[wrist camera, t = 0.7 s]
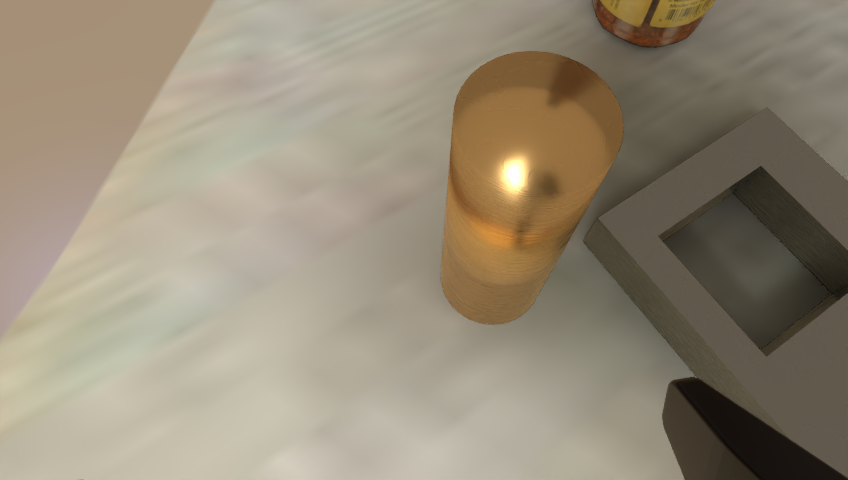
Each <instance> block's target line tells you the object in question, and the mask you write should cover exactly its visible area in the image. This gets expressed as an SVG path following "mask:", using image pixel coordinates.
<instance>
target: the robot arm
mask: <svg viewBox="0 0 848 480" xmlns="http://www.w3.org/2000/svg"><path fill="white" fill-rule="evenodd" d="M662 420H663V425H664V429H665V432H666V434H667V437H668V439H669V441H670V444H671V446H672V449H673V451H674V454H675V456H676V459H677V461H678V464H679V466H680V469H681V471H682V474H683V476H684V479H685V480H848V478H847V477H846V476H844V475H843V474H841V473H840V472H838V471H837V470H835V469H834V468H832V467H831V466H829V465H828V464H826V463H825V462H823V461H822V460H820V459H819V458H817V457H816V456H814V455H813V454H812V453H810V452H809V451H807V450H806V449H804V448H803V447H801V446H800V445H798V444H797V443H795V442H794V441H792V440H791V439H789V438H788V437H786V436H785V435H783V434H782V433H780V432H779V431H777V430H776V429H774V428H773V427H771V426H770V425H768V424H767V423H765V422H764V421H762V420H761V419H759V418H758V417H756V416H755V415H753V414H752V413H750V412H749V411H747V410H746V409H744V408H743V407H741V406H740V405H738V404H737V403H735V402H734V401H732V400H731V399H729V398H728V397H726V396H725V395H723V394H722V393H720V392H719V391H717V390H716V389H714V388H713V387H711V386H710V385H708V384H707V383H705V382H704V381H702V380H701V379H698V378H695V377H690V378H684V379H678V380H673V381H671V382H670V384H669V385H668V389H667V394H666V399H665V404H664V409H663V414H662Z"/></svg>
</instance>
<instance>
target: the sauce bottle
mask: <svg viewBox="0 0 848 480" xmlns="http://www.w3.org/2000/svg"><path fill="white" fill-rule="evenodd" d="M592 1H593V3H594V5H593V6H594V9H595V13H596V17H597V18H598V20H599V22H600V23H601V25H602V26H603V28H604V29H606V30H608V31H609V32H611V33H612V34H614V35H615V36H617V37H619V38H622V39H624V40H626V41H628V42H630V43H633V44H635V45H639V46H647V47H658V46H664V45H667V44H673V43H677V42H679V41H680V40H683V39H685V38H686V37H688V36H689V35H690V34H691V33H692V32H693V31H694V29H695V28H696V27H697V26H698V24H699V23H700V21H701V20H702V18H703V16H704V14H705V13H706V12H707V11H708V10H709V9H710V7H711V6H712V5H713V3H714V1H715V0H592Z"/></svg>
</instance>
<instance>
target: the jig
mask: <svg viewBox="0 0 848 480" xmlns="http://www.w3.org/2000/svg"><path fill="white" fill-rule="evenodd" d="M732 193H734V194H735V195H736V196H737V197H738V198H739V199H740V200H741V201H742V202H743V203H744V204H745V205H746V206H747V207H748V208H749V209H750V210H751V211H752V212H753V213H754V214H755V215H756V216H757V217H758V218H759V219H760V220H761V221H762V222H763V223H764V224H765V225H766V226H767V227H768V228H769V229H770V230H771V231H772V233H773V234H774V235H775V236H776V237H777V238H778V239H779V240H780V241H781V242H782V243H783V244H784V245H785V246H786V247H787V248H788V249H789V250H790V251H791V252H792V253H793V254H794V255H795V256H796V257H797V258H798V259H799V260H800V261H801V262H802V263H803V264H804V265H805V266H806V267H807V268H808V269H809V270H810V271H811V272H812V273H813V274H814V275H815V276H816V277H817V278H818V279H819V280H820V281H821V282H822V283H823V284H824V285H825V286H826V287H827V288H828V289H829V290H830V291H831V292H832V293H833V294H832V295H830V296H829V297H828V298H827V299H825V300H824V301H823V302H821V303H820V304H819V305H818V306H816V307H815V308H814V309H812V310H811V311H810V312H809V313H807V314H806V315H805V316H803V317H802V318H801V319H800V320H798V321H797V322H796V323H794V324H793V325H792V326H791V327H789V328H788V329H787V330H785V331H784V332H783V333H782V334H780V335H779V336H778V337H776V338H775V339H774V340H773V341H771V342H770V343H769V344H767V345H766V346H765V347H764V348H762V349H761V350H760V349H759V348H758V347H757V346H756V345H755V344H754V343H753V342H752V340H751V339H750V338H749V337H748V336H747V335H746V334H745V333H744V332H743V330H742V329H741V328H740V327H739V326H738V325H737V324H736V323H735V322H734V320H733V319H732V318H731V317H730V316H729V315H728V314H727V313H726V312H725V310H724V309H723V308H722V307H721V306H720V305H719V304H718V303H717V301H716V300H715V299H714V298H713V297H712V296H711V295H710V294H709V293H708V291H707V290H706V289H705V288H704V287H703V286H702V285H701V284H700V283H699V281H698V280H697V279H696V278H695V277H694V276H693V275H692V274H691V273H690V271H689V270H688V269H687V268H686V267H685V266H684V265H683V264H682V263H681V261H680V260H679V259H678V258H677V257H676V256H675V255H674V254H673V253H672V251H671V250H670V249H669V248H668V247H667V246H666V245H665V244H664V243H663V241H664V240H665V239H667V238H668V237H670V236H671V235H673V234H674V233H676V232H677V231H678V230H680V229H681V228H683V227H684V226H686V225H687V224H689V223H690V222H692V221H693V220H694V219H696V218H697V217H699V216H700V215H702V214H703V213H705V212H706V211H708V210H709V209H710V208H712V207H713V206H715V205H716V204H718V203H719V202H721V201H722V200H724V199H725V198H726V197H728V196H729V195H731V194H732ZM583 242H584V243H585V244H586V245H587V247H588V248H589V249H590V250H591V251H592V253H593V254H594V255H595V256H596V257H597V258H598V260H599V261H600V262H601V263H602V264H603V266H604V267H605V268H606V269H607V270H608V272H609V273H610V274H611V275H612V276H613V277H614V279H615V280H616V281H617V282H618V283H619V285H620V286H621V287H622V288H623V289H624V291H625V292H626V293H627V294H628V295H629V296H630V298H631V299H632V300H633V301H634V302H635V304H636V305H637V306H638V307H639V308H640V310H641V311H642V312H643V313H644V314H645V315H646V317H647V318H648V319H649V320H650V321H651V323H652V324H653V325H654V326H655V327H656V329H657V330H658V331H659V332H660V333H661V334H662V336H663V337H664V338H665V339H666V340H667V342H668V343H669V344H670V345H671V346H672V348H673V349H674V350H675V351H676V352H677V354H678V355H679V356H680V357H681V358H682V359H683V361H684V362H685V363H686V364H687V365H688V367H689V368H690V369H691V370H692V371H693V373H694V374H695V375H696V376H697V377H698V378H699V379H701V380H702V381H704V382H705V383H707V384H708V385H710V386H711V387H713V388H714V389H716V390H717V391H719V392H720V393H722V394H723V395H725V396H726V397H728V398H729V399H731V400H732V401H734V402H735V403H737V404H738V405H740V406H741V407H743V408H744V409H746V410H747V411H749V412H750V413H752V414H753V415H755V416H756V417H758V418H759V419H761V420H762V421H764V422H765V423H767V424H768V425H770V426H771V427H773V428H774V429H776V430H777V431H779V432H780V433H782V434H783V435H785V436H786V437H788V438H789V439H791V440H792V441H794V442H795V443H797V444H798V445H800V446H801V447H803V448H804V449H806V450H807V451H809V452H810V453H812V454H813V455H814V456H816V457H817V458H819V459H820V460H822V461H823V462H825V463H826V464H828V465H829V466H831V467H832V468H834V469H835V470H837V471H838V472H840V473H841V474H843V475H844V476H846V477H847V478H848V182H847V181H846V180H845V179H844V178H843V177H842V176H841V175H840V174H839V173H838V172H837V171H835V170H834V169H833V168H832V167H831V166H830V165H829V164H828V163H827V162H826V161H825V160H824V159H822V158H821V157H820V156H819V155H818V154H817V153H816V152H815V151H814V150H813V149H812V148H811V147H810V146H808V145H807V144H806V143H805V142H804V141H803V140H802V139H801V138H800V137H799V136H798V135H797V134H795V133H794V132H793V131H792V130H791V129H790V128H789V127H788V126H787V125H786V124H785V123H784V122H783V121H781V120H780V119H779V118H778V117H777V116H776V115H775V114H774V113H773V112H772V111H771V110H770V109H769V108H765V109H764V110H762V111H761V112H759V113H758V114H756V115H754V116H753V117H751V118H750V119H748V120H747V121H745V122H744V123H742V124H741V125H739V126H738V127H736V128H735V129H733V130H732V131H730V132H728V133H727V134H725V135H724V136H722V137H721V138H719V139H718V140H716V141H715V142H713V143H712V144H710V145H709V146H707V147H706V148H704V149H702V150H701V151H699V152H698V153H696V154H695V155H693V156H692V157H690V158H689V159H687V160H686V161H684V162H683V163H681V164H680V165H678V166H677V167H675V168H673V169H672V170H670V171H669V172H667V173H666V174H664V175H663V176H661V177H660V178H658V179H657V180H655V181H654V182H652V183H651V184H649V185H647V186H646V187H644V188H643V189H641V190H640V191H638V192H637V193H635V194H634V195H632V196H631V197H629V198H628V199H626V200H625V201H623V202H621V203H620V204H618V205H617V206H615V207H614V208H612V209H611V210H609V211H608V212H606V213H605V214H603V215H602V216H600V217H599V218H598V219H597V220H596V222H595V223H594V225H593V227H592V228H591V230H590V231H589V233H588V235H587V236H586V238H585V239H584V241H583Z"/></svg>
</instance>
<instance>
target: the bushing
mask: <svg viewBox="0 0 848 480" xmlns="http://www.w3.org/2000/svg"><path fill="white" fill-rule="evenodd" d="M623 133H624V123H623V117H622V112H621V109H620V106H619V103H618V101H617V99H616V97H615V95H614V94H613V92H612V91H611V89H610V88H609V87H608V85H607V84H606V83H605V82H604V81H603V80H602V79H601V78H600V77H599V76H598V75H597V74H596V73H594V72H593V71H592V70H590V69H589V68H587V67H586V66H584V65H582V64H580V63H579V62H577V61H574V60H572V59H570V58H567V57H564V56H561V55H557V54H553V53H548V52H538V51H526V52H516V53H512V54H507V55H504V56H501V57H498V58H496V59H493V60H491V61H489V62H487V63H486V64H484V65H483V66H481V67H480V68H478V69H477V70H476V71H475V72H474V73H472V74H471V76H470V77H469V78H468V79H467V80H466V81H465V83H464V84H463V86H462V87H461V89H460V91H459V93H458V95H457V99H456V102H455V106H454V113H453V126H452V138H451V151H450V164H449V176H448V189H447V201H446V214H445V227H444V239H443V252H442V265H441V283H442V288H443V291H444V293H445V296H446V298H447V299H448V301H449V303H450V304H451V305H452V306H453V307H454V308H455V309H456V310H457V311H458V312H459V313H460V314H462V315H463V316H465V317H466V318H468V319H470V320H473V321H475V322H478V323H482V324H503V323H507V322H510V321H512V320H515V319H516V318H518V317H520V316H521V315H523V314H524V313H525V312H526V311H527V310H528V309H529V308H530V307H531V305H532V304H533V303H534V301H535V299H536V297H537V296H538V294H539V292H540V290H541V289H542V287H543V285H544V283H545V282H546V280H547V278H548V276H549V274H550V273H551V271H552V269H553V267H554V266H555V264H556V262H557V260H558V259H559V257H560V255H561V253H562V251H563V250H564V248H565V246H566V244H567V243H568V241H569V239H570V237H571V236H572V234H573V232H574V230H575V228H576V227H577V225H578V223H579V221H580V220H581V218H582V216H583V214H584V213H585V211H586V209H587V207H588V206H589V204H590V202H591V200H592V198H593V197H594V195H595V193H596V191H597V190H598V188H599V186H600V184H601V183H602V181H603V179H604V177H605V175H606V174H607V172H608V170H609V168H610V167H611V165H612V163H613V161H614V160H615V158H616V156H617V154H618V152H619V150H620V147H621V143H622V139H623Z"/></svg>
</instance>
